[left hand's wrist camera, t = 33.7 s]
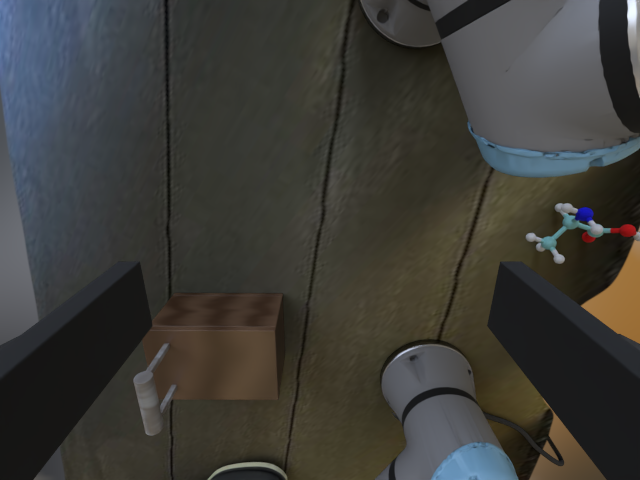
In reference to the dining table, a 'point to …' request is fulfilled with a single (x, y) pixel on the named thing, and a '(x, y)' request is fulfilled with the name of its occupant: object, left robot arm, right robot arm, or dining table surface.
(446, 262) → the dining table surface
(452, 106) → the dining table surface
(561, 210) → the molecular model
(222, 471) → the boat shoe
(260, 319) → the chest
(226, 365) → the lid
